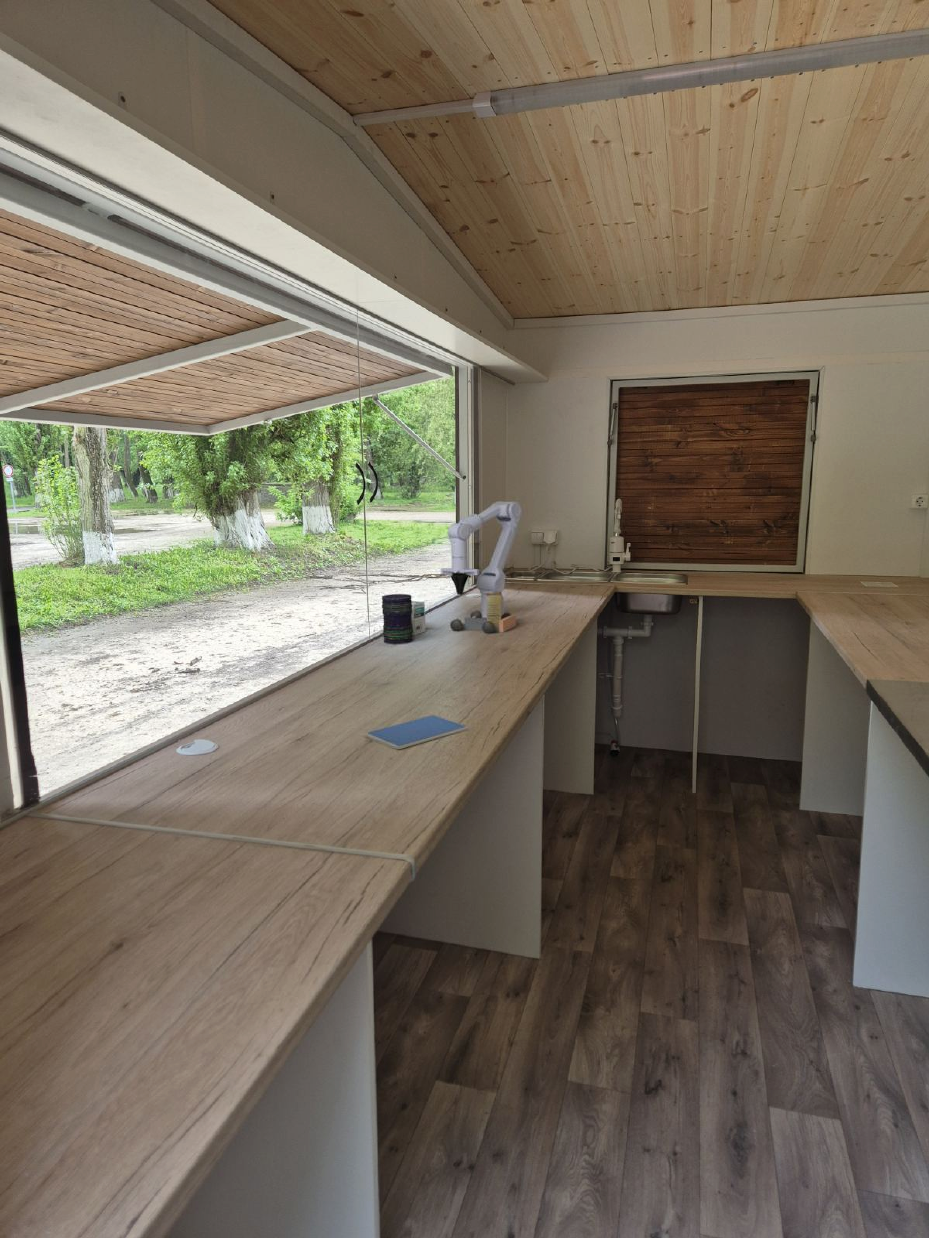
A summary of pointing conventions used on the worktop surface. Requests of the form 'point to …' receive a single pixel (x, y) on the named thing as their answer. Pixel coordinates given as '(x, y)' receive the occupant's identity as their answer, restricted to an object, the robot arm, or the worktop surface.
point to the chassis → (484, 623)
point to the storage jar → (397, 619)
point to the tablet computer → (415, 732)
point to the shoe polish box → (493, 607)
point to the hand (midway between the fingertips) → (460, 594)
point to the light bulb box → (418, 617)
